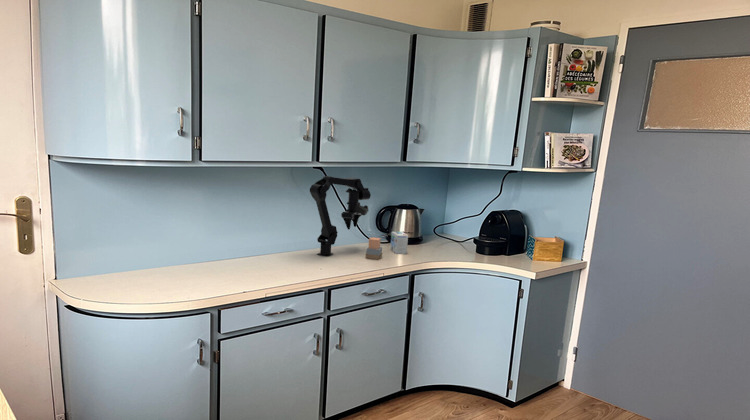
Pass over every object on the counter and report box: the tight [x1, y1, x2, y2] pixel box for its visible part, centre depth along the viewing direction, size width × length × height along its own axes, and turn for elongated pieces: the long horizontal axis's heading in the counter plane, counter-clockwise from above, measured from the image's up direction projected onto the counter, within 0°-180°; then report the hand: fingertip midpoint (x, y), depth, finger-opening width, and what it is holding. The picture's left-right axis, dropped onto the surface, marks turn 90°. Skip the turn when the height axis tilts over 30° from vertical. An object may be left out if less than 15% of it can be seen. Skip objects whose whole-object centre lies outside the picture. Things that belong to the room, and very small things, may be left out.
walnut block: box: [365, 252, 383, 261], centre depth 268 cm, size 7×7×3 cm
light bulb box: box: [389, 231, 409, 255], centre depth 285 cm, size 11×7×11 cm, turn 17°
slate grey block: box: [365, 246, 383, 255], centre depth 268 cm, size 7×7×3 cm
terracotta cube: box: [367, 236, 382, 249], centre depth 267 cm, size 5×5×5 cm
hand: (351, 228), depth 279 cm, fingers open, 9 cm apart
